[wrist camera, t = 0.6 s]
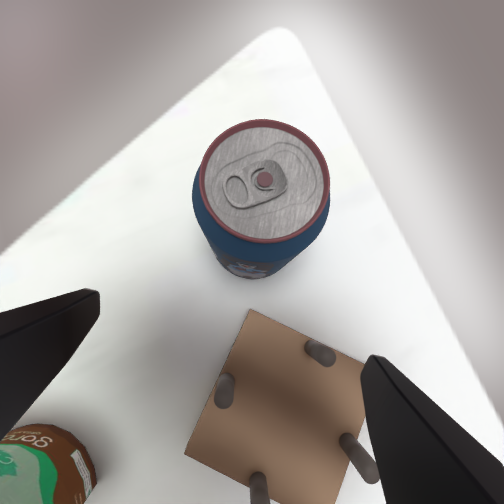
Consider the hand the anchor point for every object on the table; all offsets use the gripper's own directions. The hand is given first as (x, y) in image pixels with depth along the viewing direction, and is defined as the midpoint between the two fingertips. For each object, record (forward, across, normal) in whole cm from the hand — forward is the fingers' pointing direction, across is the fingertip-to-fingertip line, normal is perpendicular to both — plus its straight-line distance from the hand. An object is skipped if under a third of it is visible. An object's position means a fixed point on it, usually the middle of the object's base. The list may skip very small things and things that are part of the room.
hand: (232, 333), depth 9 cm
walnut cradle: (+8, -5, +12) cm, 16 cm away
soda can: (+15, 0, +2) cm, 15 cm away
